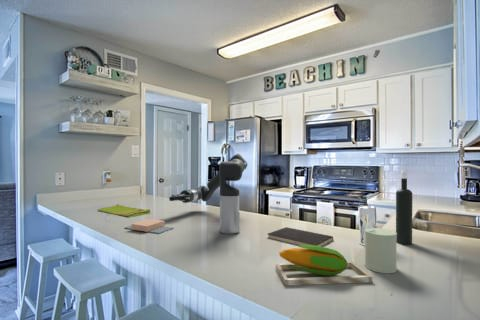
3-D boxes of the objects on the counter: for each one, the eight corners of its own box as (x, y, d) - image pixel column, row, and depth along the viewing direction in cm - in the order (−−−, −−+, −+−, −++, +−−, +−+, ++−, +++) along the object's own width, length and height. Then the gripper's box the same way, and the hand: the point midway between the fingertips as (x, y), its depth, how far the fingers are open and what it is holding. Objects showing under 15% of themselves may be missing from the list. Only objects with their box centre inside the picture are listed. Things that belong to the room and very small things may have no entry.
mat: (173, 228, 132) (173, 227, 132) (159, 233, 123) (159, 232, 123) (140, 224, 141) (140, 223, 141) (124, 228, 132) (124, 227, 132)
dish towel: (129, 218, 157) (129, 213, 157) (96, 211, 177) (96, 206, 177) (151, 214, 170) (151, 209, 170) (118, 208, 189) (118, 203, 189)
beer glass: (365, 247, 105) (366, 209, 105) (353, 242, 112) (354, 206, 112) (380, 245, 107) (380, 208, 107) (367, 240, 113) (367, 205, 113)
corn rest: (351, 266, 86) (351, 261, 86) (372, 282, 75) (372, 276, 75) (275, 268, 84) (275, 263, 84) (284, 285, 73) (284, 280, 73)
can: (358, 262, 90) (358, 226, 90) (385, 261, 90) (385, 226, 90) (374, 273, 81) (374, 234, 80) (403, 273, 81) (403, 233, 81)
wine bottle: (393, 242, 111) (393, 170, 111) (398, 239, 115) (399, 169, 114) (409, 246, 106) (409, 170, 106) (414, 243, 110) (414, 170, 110)
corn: (351, 258, 74) (278, 247, 79) (348, 283, 75) (276, 271, 80) (347, 246, 81) (280, 236, 86) (344, 269, 82) (279, 259, 87)
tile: (164, 220, 135) (147, 226, 124) (164, 226, 135) (147, 231, 124) (149, 218, 139) (131, 223, 128) (149, 224, 139) (131, 229, 128)
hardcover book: (316, 250, 102) (316, 244, 102) (267, 238, 118) (267, 233, 118) (333, 241, 114) (333, 236, 114) (286, 231, 129) (286, 226, 129)
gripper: (198, 202, 160) (180, 206, 144) (180, 201, 165) (160, 205, 150) (198, 190, 160) (180, 192, 144) (180, 189, 166) (161, 191, 150)
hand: (170, 199), depth 147 cm, fingers closed
